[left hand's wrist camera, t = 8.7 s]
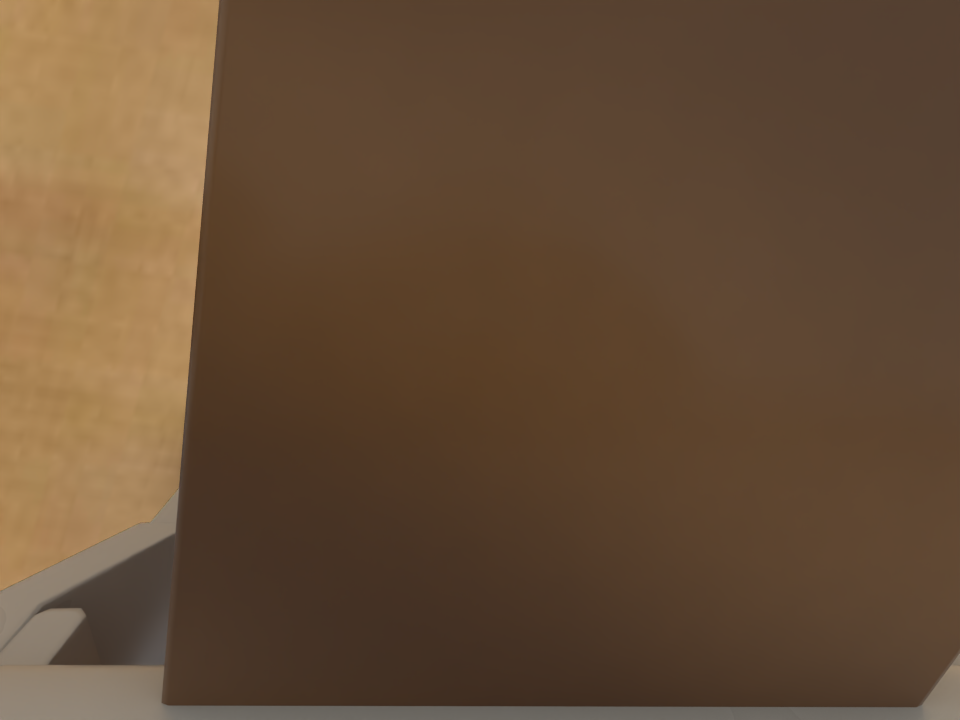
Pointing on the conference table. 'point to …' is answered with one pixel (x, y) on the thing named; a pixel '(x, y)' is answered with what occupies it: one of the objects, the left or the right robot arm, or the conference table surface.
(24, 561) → the conference table surface
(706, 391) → the box
